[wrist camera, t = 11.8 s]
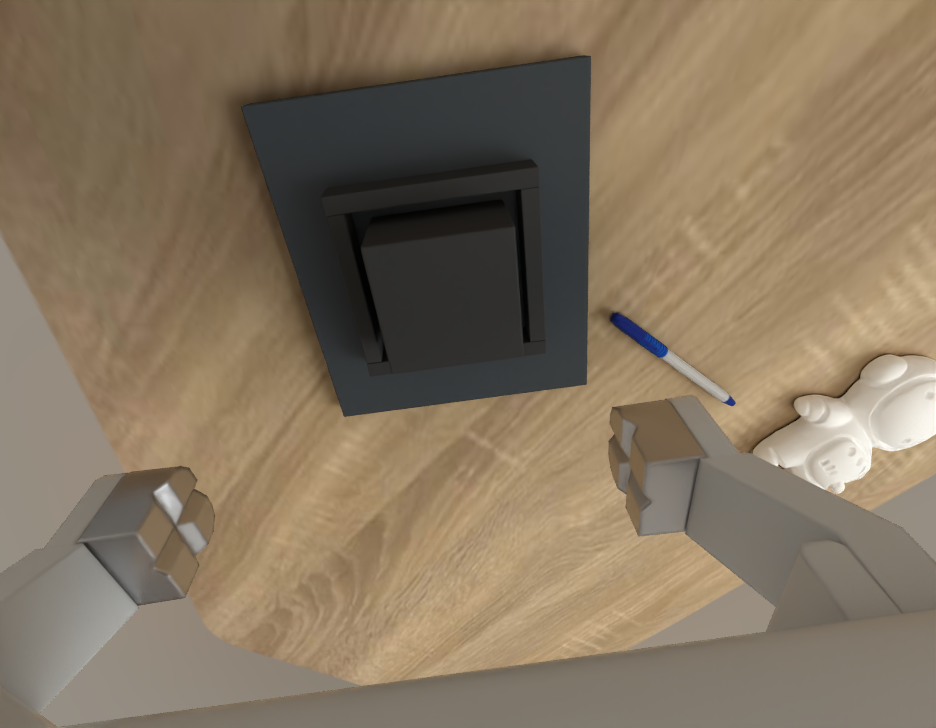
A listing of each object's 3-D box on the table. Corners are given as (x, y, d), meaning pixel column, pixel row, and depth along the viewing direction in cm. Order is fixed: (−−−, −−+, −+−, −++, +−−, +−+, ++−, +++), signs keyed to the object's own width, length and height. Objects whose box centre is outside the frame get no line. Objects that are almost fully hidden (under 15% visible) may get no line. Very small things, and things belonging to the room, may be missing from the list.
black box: (397, 332, 26) (391, 375, 22) (370, 217, 22) (359, 247, 19) (512, 316, 25) (524, 357, 22) (502, 198, 22) (515, 225, 19)
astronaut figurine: (734, 425, 32) (760, 458, 29) (934, 327, 29) (983, 355, 26) (772, 499, 36) (798, 533, 33) (951, 420, 33) (994, 452, 30)
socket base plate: (346, 406, 29) (339, 435, 27) (248, 103, 20) (226, 110, 18) (582, 375, 29) (594, 402, 27) (584, 55, 20) (603, 56, 18)
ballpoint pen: (603, 320, 27) (609, 329, 26) (615, 308, 27) (620, 316, 26) (726, 402, 31) (734, 412, 30) (737, 393, 30) (746, 402, 29)
